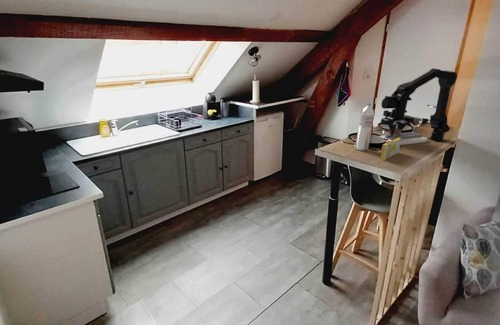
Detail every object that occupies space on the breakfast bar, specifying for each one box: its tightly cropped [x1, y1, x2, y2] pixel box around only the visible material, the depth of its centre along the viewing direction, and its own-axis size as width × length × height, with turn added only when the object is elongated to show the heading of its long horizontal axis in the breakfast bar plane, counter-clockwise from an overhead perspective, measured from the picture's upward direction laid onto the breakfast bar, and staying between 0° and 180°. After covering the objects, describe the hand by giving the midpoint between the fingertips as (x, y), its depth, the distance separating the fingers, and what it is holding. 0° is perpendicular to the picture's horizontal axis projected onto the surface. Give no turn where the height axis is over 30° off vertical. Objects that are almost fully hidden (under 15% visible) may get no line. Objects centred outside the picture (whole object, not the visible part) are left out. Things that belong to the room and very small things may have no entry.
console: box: [379, 131, 428, 146], centre depth 173 cm, size 24×12×4 cm, turn 108°
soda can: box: [369, 124, 374, 143], centre depth 166 cm, size 7×7×12 cm
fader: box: [388, 127, 403, 137], centre depth 169 cm, size 4×5×5 cm
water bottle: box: [354, 103, 376, 152], centre depth 154 cm, size 7×7×25 cm
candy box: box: [380, 138, 401, 161], centre depth 149 cm, size 16×2×8 cm, turn 129°
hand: (394, 134), depth 169 cm, fingers closed on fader, 4 cm apart
